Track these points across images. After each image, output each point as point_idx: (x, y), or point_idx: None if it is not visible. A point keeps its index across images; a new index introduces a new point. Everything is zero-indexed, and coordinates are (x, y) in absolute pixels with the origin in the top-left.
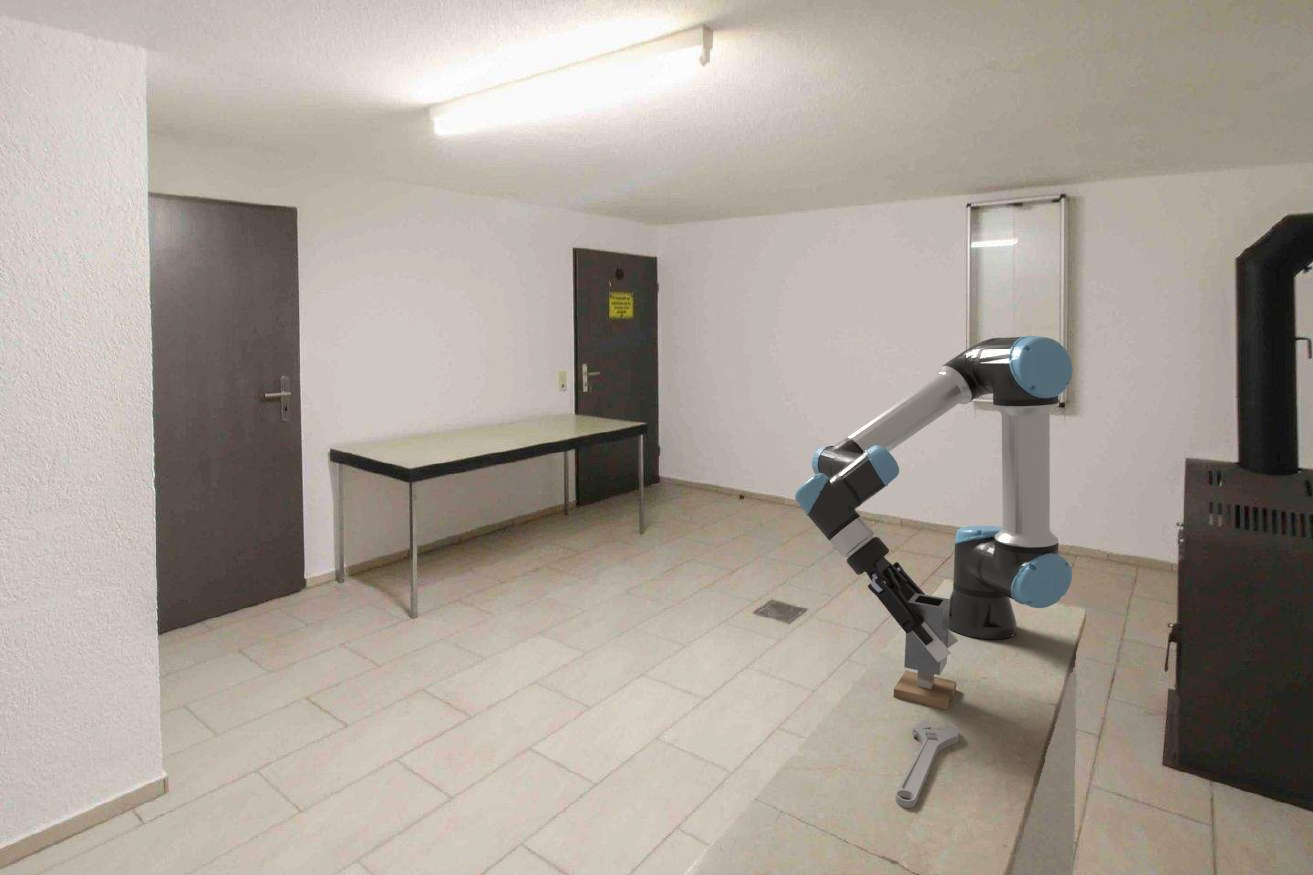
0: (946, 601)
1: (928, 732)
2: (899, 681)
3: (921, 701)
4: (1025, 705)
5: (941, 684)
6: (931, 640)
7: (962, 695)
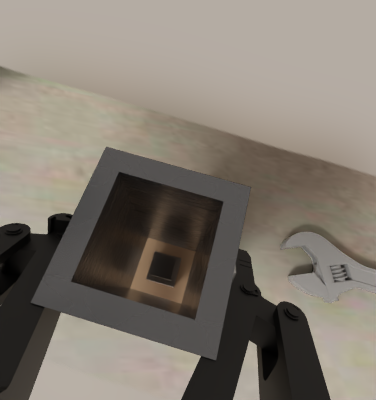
0: (143, 164)
1: (331, 277)
2: None
3: None
4: (166, 136)
5: (154, 242)
6: (246, 253)
7: None
